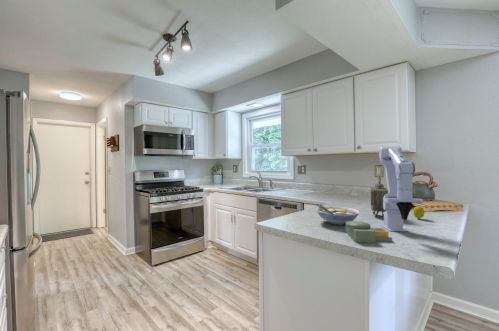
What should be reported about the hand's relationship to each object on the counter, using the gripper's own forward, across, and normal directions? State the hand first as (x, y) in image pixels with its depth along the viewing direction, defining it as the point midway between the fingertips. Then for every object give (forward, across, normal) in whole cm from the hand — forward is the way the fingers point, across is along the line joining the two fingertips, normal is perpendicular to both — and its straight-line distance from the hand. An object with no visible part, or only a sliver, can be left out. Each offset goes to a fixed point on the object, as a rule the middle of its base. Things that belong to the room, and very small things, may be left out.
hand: (404, 219), depth 108 cm
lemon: (+9, +27, +40) cm, 49 cm away
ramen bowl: (+9, -24, +23) cm, 34 cm away
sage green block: (+9, -16, -1) cm, 19 cm away
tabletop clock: (+9, +6, +44) cm, 46 cm away
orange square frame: (+9, -12, -1) cm, 15 cm away
